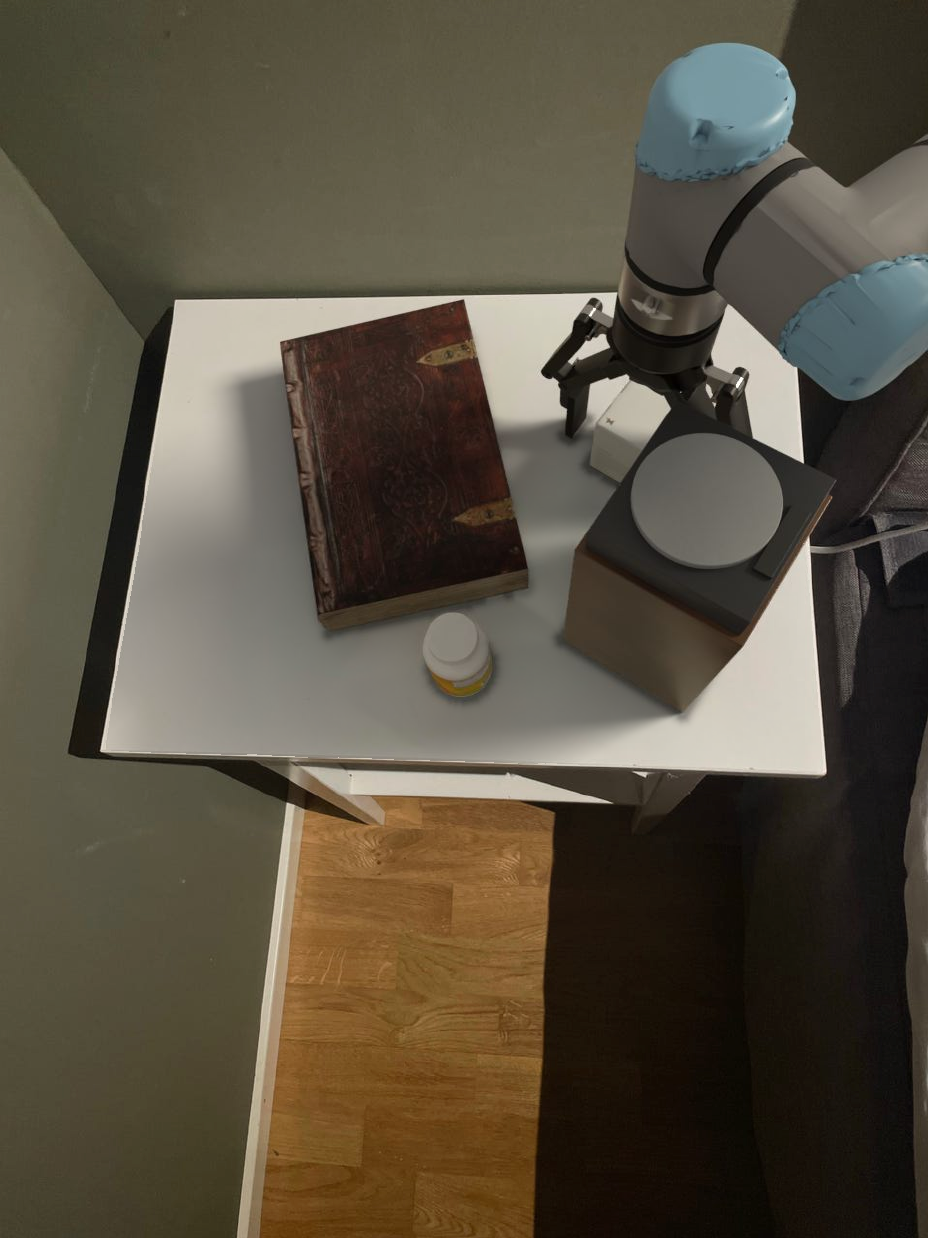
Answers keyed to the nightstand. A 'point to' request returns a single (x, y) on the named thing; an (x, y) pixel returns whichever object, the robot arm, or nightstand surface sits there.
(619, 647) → the riser
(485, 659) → the supplement bottle
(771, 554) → the scale
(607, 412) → the product box
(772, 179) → the robot arm
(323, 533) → the hardback book
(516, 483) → the nightstand surface
